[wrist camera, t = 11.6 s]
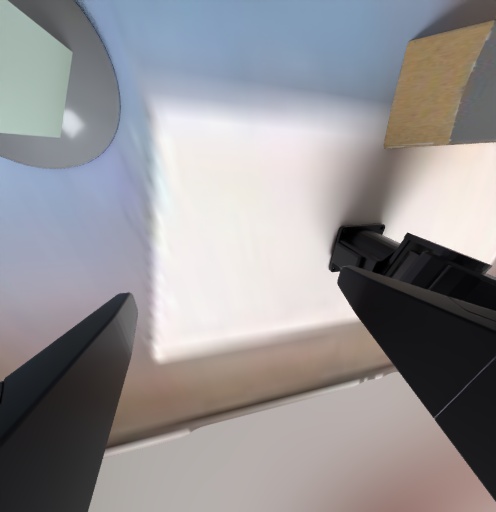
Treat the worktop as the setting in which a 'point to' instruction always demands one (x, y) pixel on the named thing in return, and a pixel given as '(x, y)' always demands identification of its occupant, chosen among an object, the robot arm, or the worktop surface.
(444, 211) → the worktop surface
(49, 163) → the coaster
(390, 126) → the sandwich container
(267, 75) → the worktop surface
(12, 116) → the pale green block
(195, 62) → the worktop surface
